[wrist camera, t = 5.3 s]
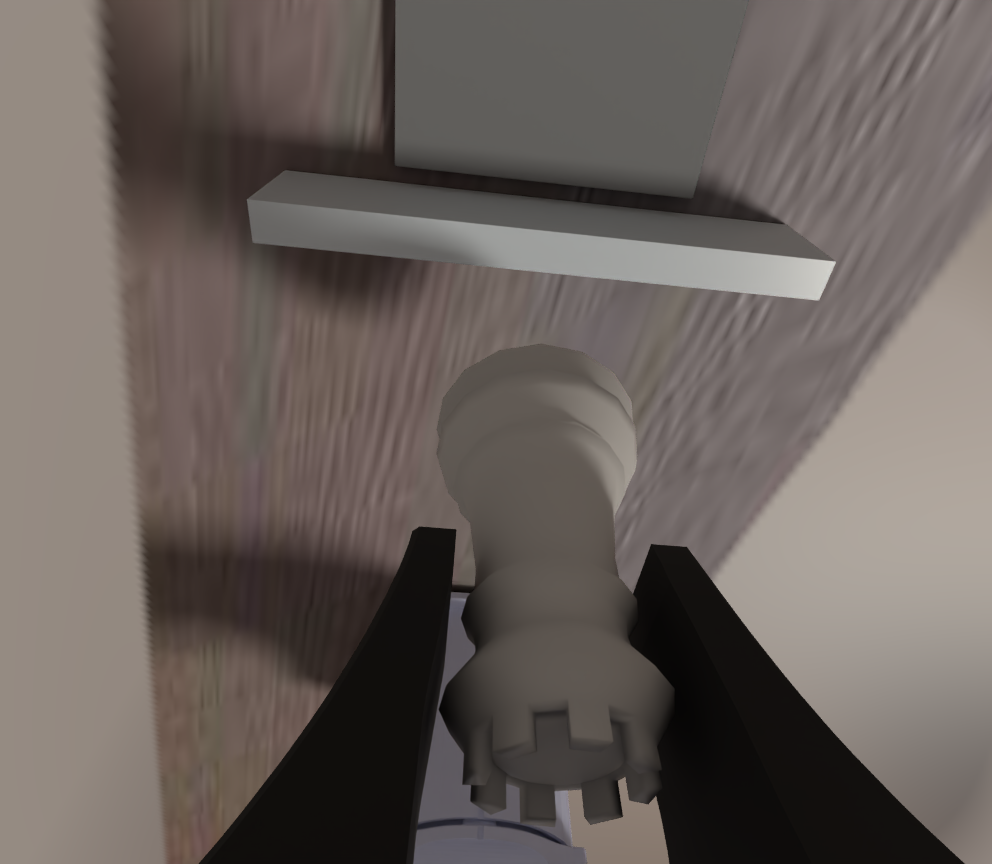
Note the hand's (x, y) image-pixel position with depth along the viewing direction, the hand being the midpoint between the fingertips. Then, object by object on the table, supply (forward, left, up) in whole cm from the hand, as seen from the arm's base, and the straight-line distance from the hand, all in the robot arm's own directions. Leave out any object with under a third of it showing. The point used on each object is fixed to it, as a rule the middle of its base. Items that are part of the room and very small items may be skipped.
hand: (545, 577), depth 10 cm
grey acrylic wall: (+3, 0, -10) cm, 11 cm away
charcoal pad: (+8, 0, -10) cm, 13 cm away
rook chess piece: (0, 0, -5) cm, 5 cm away
